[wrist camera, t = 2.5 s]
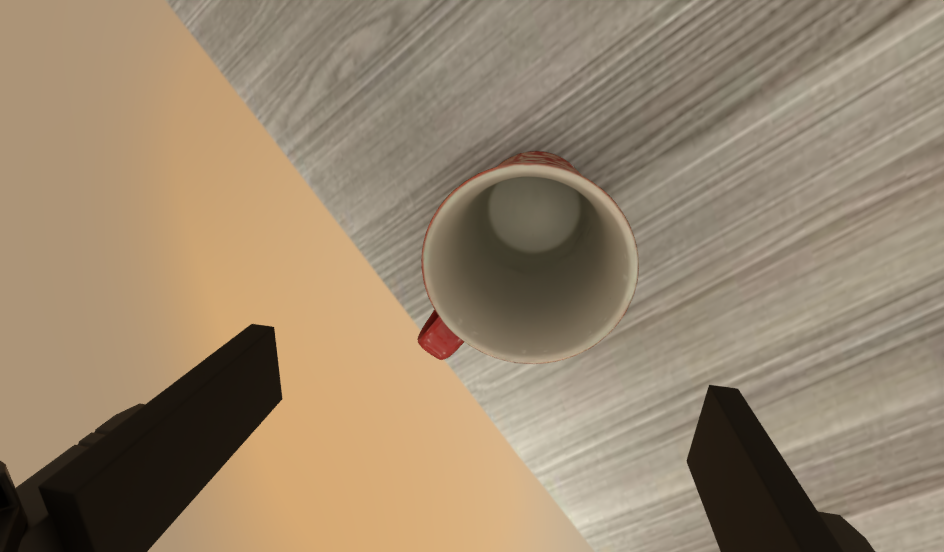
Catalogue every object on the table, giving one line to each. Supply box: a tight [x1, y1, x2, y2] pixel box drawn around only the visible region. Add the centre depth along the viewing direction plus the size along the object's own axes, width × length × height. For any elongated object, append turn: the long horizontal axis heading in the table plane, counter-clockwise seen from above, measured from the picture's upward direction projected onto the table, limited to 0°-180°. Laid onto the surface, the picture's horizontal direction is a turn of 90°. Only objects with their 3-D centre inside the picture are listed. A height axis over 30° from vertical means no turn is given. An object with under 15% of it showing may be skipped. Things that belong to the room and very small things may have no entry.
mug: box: [418, 151, 639, 364], centre depth 26 cm, size 13×9×14 cm
